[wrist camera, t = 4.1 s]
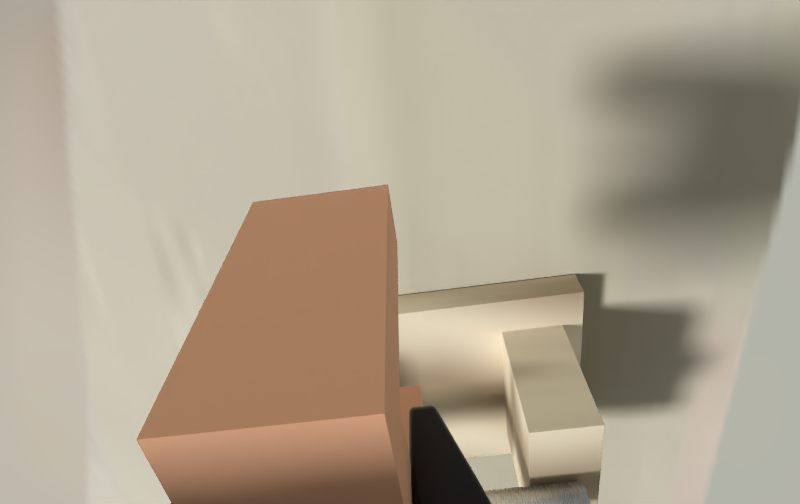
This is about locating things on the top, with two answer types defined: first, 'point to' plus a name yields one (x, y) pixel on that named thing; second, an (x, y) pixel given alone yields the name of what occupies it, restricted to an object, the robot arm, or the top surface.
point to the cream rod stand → (508, 375)
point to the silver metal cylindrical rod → (541, 494)
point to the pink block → (293, 365)
